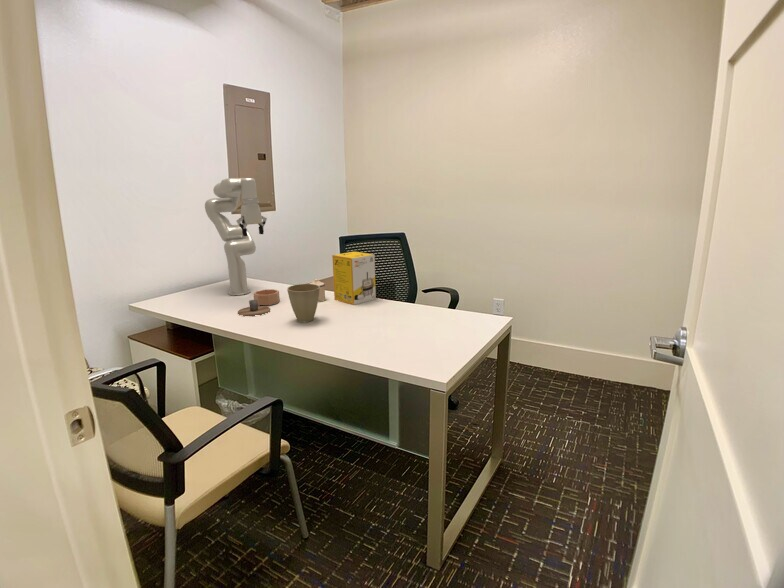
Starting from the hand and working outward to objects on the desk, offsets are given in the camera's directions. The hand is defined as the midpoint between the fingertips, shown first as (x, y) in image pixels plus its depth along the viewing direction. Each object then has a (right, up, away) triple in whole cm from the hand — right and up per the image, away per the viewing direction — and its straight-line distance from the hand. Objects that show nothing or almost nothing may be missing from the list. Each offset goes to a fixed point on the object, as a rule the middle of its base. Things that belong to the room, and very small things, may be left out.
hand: (253, 235), depth 234 cm
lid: (+4, -41, -11) cm, 43 cm away
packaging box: (+54, -35, +9) cm, 64 cm away
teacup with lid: (+32, -35, +10) cm, 48 cm away
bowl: (+6, -36, +4) cm, 37 cm away
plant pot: (+33, -44, -26) cm, 61 cm away
